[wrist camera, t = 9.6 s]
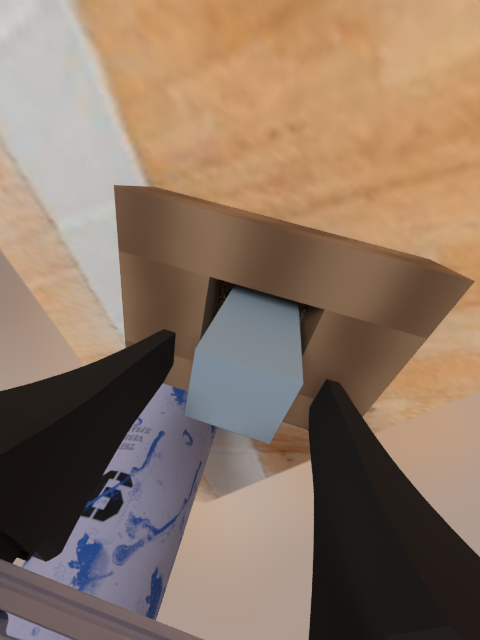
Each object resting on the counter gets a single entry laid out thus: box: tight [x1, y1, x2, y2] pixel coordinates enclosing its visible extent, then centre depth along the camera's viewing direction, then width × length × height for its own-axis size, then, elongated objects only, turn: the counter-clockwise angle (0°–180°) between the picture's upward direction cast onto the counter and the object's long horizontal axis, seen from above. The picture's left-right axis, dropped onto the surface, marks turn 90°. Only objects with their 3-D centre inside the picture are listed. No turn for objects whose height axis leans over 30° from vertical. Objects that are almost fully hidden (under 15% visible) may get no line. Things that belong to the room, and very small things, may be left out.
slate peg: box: [184, 284, 303, 444], centre depth 12 cm, size 4×4×8 cm
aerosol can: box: [6, 384, 217, 640], centre depth 14 cm, size 8×8×20 cm
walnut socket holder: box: [114, 185, 475, 430], centre depth 14 cm, size 16×12×4 cm
